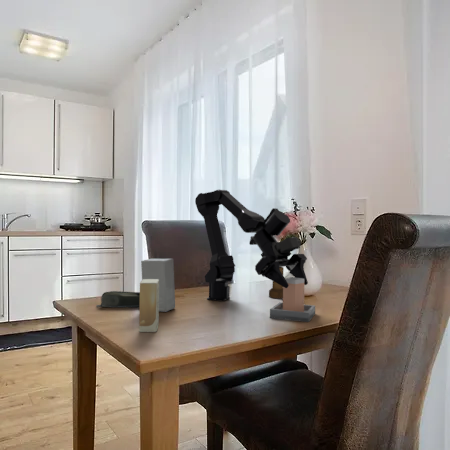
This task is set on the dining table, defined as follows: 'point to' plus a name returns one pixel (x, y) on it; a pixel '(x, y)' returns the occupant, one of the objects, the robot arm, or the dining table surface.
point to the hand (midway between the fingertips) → (297, 285)
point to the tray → (292, 313)
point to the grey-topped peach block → (294, 294)
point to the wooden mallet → (276, 289)
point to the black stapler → (120, 299)
